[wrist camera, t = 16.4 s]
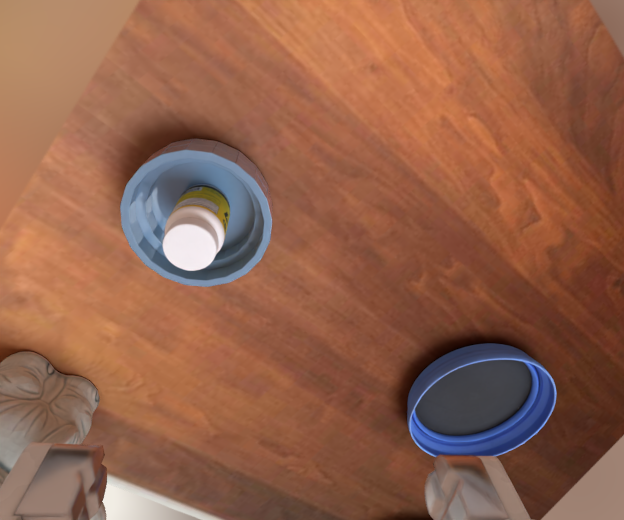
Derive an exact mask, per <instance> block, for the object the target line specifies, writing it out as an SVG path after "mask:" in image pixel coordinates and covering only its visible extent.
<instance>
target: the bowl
mask: <svg viewBox="0 0 624 520" xmlns="http://www.w3.org/2000/svg"><path fill="white" fill-rule="evenodd" d="M555 402H556V387H555V383H554V381H553V379H552V377H551V376H550V374H549V373H548V371H547V370H546V369H545V368H544V367H543V366H542V365H541V364H540V363H538V362H537V361H536V360H534V359H533V358H531V357H530V356H528V355H527V354H526V353H525V352H523V351H521V350H519V349H517V348H515V347H512V346H508V345H503V344H494V343H486V344H476V345H471V346H467V347H463V348H460V349H457V350H454V351H452V352H450V353H448V354H446V355H444V356H442V357H440V358H439V359H437V360H435V361H434V362H433V363H431V364H430V365H429V366H428V367H427V368H425V369H424V370H423V371H422V373H421V374H420V375H419V376H418V378H417V379H416V380H415V382H414V384H413V385H412V387H411V390H410V392H409V396H408V403H407V406H408V411H407V423H408V428H409V431H410V434H411V436H412V438H413V440H414V442H415V443H416V444H417V445H418V446H419V447H420V448H421V449H422V450H423V451H425V452H427V453H428V454H430V455H432V456H435V457H437V456H438V455H475V456H498V455H501V454H503V453H506V452H508V451H510V450H513V449H515V448H516V447H518V446H520V445H522V444H523V443H524V442H526V441H527V440H529V439H530V438H531V437H533V436H534V435H535V434H536V433H537V432H538V431H539V430H540V429H541V428H542V427H543V426H544V424H545V423H546V422H547V420H548V418H549V417H550V415H551V413H552V411H553V409H554V406H555Z"/></svg>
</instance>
